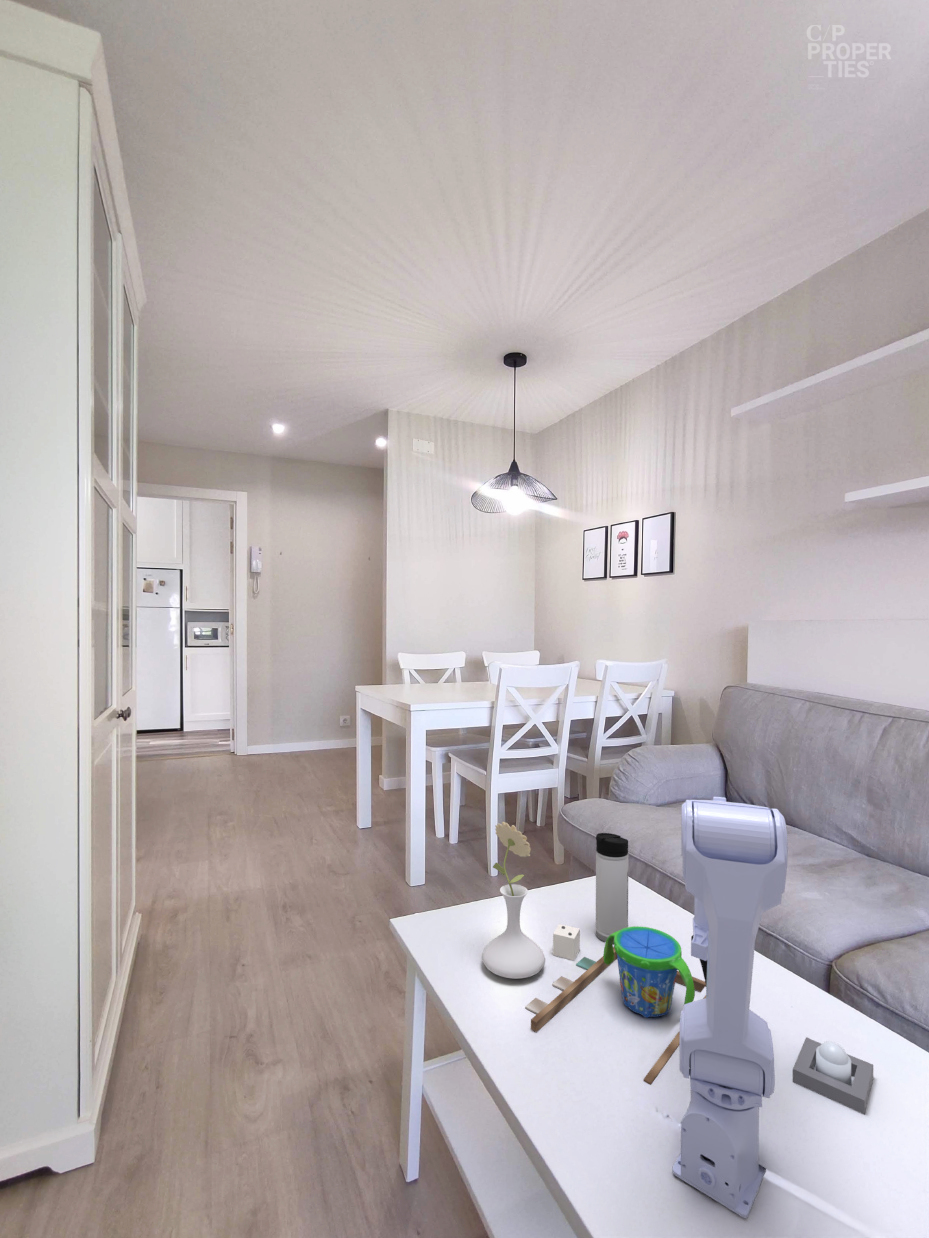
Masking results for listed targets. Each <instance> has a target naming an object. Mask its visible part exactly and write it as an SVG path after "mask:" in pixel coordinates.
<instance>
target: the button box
mask: <svg viewBox="0 0 929 1238" xmlns="http://www.w3.org/2000/svg"><path fill="white" fill-rule="evenodd" d="M821 1044H822V1043H821V1042H819V1041H816V1040H813V1039H812V1038H808V1037H806V1036H805V1039H804V1041H803V1043H802V1046H801V1049H800V1050H799V1053H798V1056H797V1058H796V1061H795V1063H794V1065H793V1067H792V1083H795V1084H796V1085H799V1086H801V1087H803V1088H805V1089H807V1090H810V1091H812V1092H814V1093H816V1094H819V1095H821V1096H823V1097H825V1098H827V1099H829V1100H831V1101H833V1102H836V1103H839V1104H840V1105H843V1106H844V1107H847V1108H849V1109H851V1110H853V1111H856V1112H857V1113H860V1114H862V1115H864V1116H865V1114H866V1111H867V1108H868V1107H867V1106H868V1102H869V1097H870V1095H871V1090H872V1085H873V1082H874V1081H873V1080H874V1064H873V1063H870V1062H869V1061H868V1062H867V1061H865V1060H863V1059H860V1058H858V1057H856V1056H853V1055H851V1054H848V1053H846V1054H847V1055H848V1056H849V1058H850V1059H851V1077H853V1080H852V1082H851V1086H849V1085H847V1084H845V1083H842V1082H840V1081H838V1080H836V1079H833V1078H831V1077H829V1076H826V1075H824V1074H822V1073H819V1072H817V1071H816V1069H814V1068H815V1067H816V1048H817V1047H818V1046H820V1045H821Z"/></svg>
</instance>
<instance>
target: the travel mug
mask: <svg viewBox="0 0 929 1238" xmlns="http://www.w3.org/2000/svg"><path fill="white" fill-rule="evenodd" d="M621 836H622V835H618V834H615V833H609V832H599V833H597V834H596V836H595V840H596V843H595V844H596V847H595V848H596V849H595V935H596V937H597V938H598V939H599V940H601V941H603V942H604V943H606V940H607V938H608V936H610V935H611V934H613V933H614V932H617V931H619V930H621V929H624V928H627V927H629V840H628V839H627V838H624V837H621ZM613 945H614V941H613Z"/></svg>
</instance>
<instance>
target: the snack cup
mask: <svg viewBox="0 0 929 1238" xmlns="http://www.w3.org/2000/svg"><path fill="white" fill-rule="evenodd" d="M613 941H614V944H613ZM604 943H605V944H604V947H603V948H604V949H603V954H602V955H603V956H604V962H605V964H606V965H609V966H611V964H612V963H613V962H614V950H613V947H614V948H615V951H616V953H617V958H618V959H616V960H617V966H618V974H619V983H620V988H621V989H620V990H621V997H622V1000H623V1004H624V1005H625V1006H626V1007H627V1008H629V1010H631V1011H633V1012H634V1013H636V1014H640V1015H642V1016H643V1017H644V1018H646V1019H647V1018H649V1017H654V1018H658V1017H661V1016H666V1015H667V1014H668V1013H669V1011H670V1008H671V1006H672V1002H673V997H674V996H673V995H674V990H675V985H676V982H675V981H676V974H677V971H679V973H680V975H681V977H682V979H683V981H684V983H685V985H686V986H685V988H686V990H685V996H684V1004H683V1006H684V1005H685V1004H687V1003H690V1002H694V999H695V995H696V994H695V993H696V992H695V991H696V990H695V989H694V983H693V979H692V977H693V976H692V972H691V970H690V968H689V966H688V964H687V962H686V961H685V960H684V958H683V957H682V946H681V944H680V943H679V941H678V940H677V939H675V938H674V937H673V936H671V935H670V934H669V933H666V932H664V931H662V930H659V929H656V928H652V927H648V926H638V925H637V926H636V925H635V926H628V927H627V928H624V929H621V930H619V931H617V932H614V933H613V934H611V935H610V936H608V938H607V940H606V942H604ZM613 945H614V946H613ZM603 956H602V957H603ZM683 1006H682V1007H683Z"/></svg>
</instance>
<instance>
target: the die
mask: <svg viewBox="0 0 929 1238" xmlns="http://www.w3.org/2000/svg"><path fill="white" fill-rule="evenodd" d="M552 935H553V936H552V937H553V938H552V956H555V957H559V958H561V959H567V960H570V961H575V959H576V958H577V956H578V954H579V952H580V949H581V947H580V946H581V929H580V928H579V927H574V926H570V925H566V924H561V923H559V924H558V926H556V928H555V930H554V932H553V934H552Z"/></svg>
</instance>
